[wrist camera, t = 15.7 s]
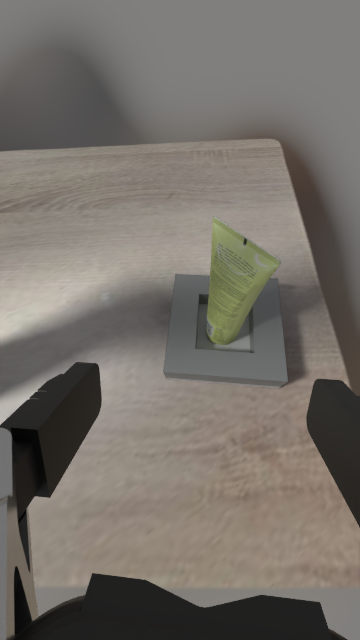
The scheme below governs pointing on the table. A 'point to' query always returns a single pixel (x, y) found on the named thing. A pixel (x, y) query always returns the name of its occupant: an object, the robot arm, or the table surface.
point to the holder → (232, 359)
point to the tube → (234, 281)
